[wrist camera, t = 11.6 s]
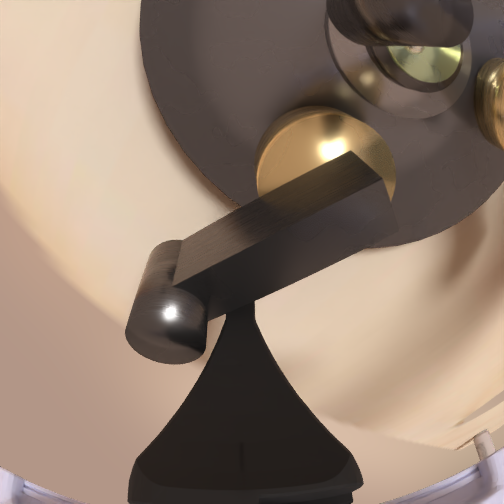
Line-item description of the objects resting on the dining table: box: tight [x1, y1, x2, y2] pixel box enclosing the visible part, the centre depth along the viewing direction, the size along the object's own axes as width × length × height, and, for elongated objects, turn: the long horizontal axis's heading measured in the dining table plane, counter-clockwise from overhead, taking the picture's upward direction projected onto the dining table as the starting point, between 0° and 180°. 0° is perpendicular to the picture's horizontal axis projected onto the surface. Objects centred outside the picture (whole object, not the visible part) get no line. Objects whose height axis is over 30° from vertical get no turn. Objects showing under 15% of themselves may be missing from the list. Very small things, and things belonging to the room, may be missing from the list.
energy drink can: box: [473, 430, 496, 461], centre depth 54 cm, size 6×6×15 cm
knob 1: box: [125, 105, 399, 364], centre depth 9 cm, size 9×4×5 cm, turn 120°
